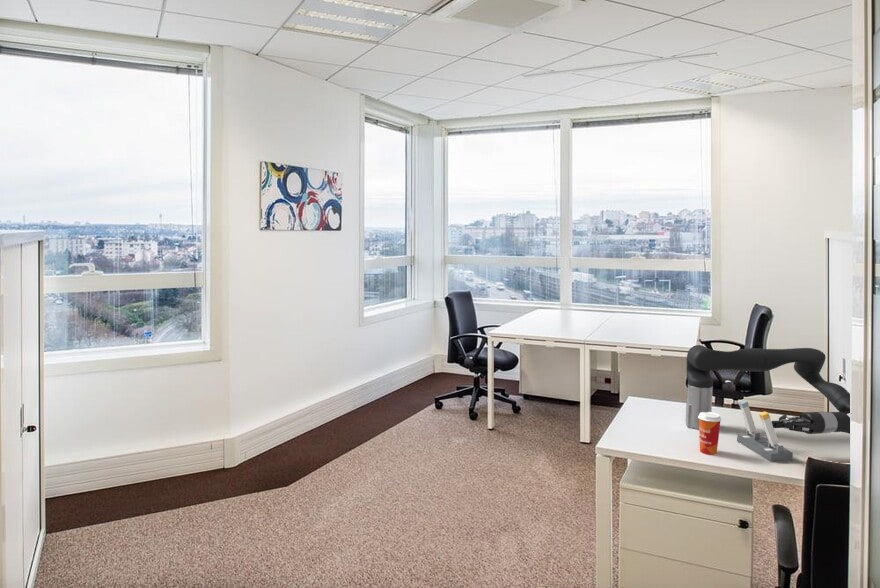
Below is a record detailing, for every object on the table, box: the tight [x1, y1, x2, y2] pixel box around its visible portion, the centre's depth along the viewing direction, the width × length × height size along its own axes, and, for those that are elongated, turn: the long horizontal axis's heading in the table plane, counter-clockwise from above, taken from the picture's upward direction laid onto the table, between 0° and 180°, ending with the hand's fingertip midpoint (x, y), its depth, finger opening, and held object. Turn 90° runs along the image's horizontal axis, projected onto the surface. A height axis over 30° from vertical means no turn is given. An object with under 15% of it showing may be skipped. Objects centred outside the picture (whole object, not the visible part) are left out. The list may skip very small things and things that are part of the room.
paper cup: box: [698, 411, 722, 456], centre depth 212 cm, size 8×8×14 cm
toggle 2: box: [758, 411, 780, 449], centre depth 205 cm, size 2×3×14 cm
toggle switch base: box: [736, 428, 794, 463], centre depth 213 cm, size 8×20×5 cm, turn 5°
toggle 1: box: [738, 399, 757, 436], centre depth 218 cm, size 2×3×14 cm
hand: (772, 424), depth 205 cm, fingers closed
